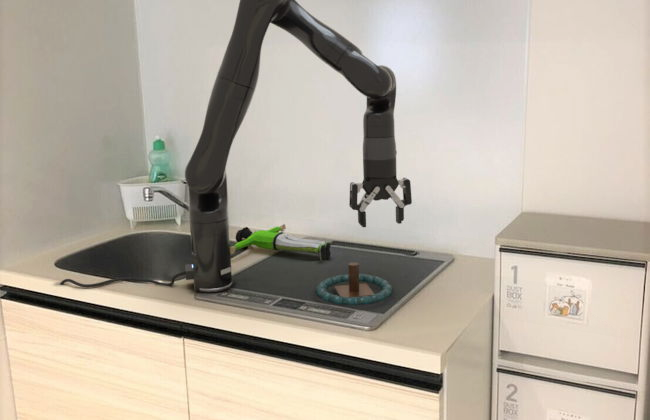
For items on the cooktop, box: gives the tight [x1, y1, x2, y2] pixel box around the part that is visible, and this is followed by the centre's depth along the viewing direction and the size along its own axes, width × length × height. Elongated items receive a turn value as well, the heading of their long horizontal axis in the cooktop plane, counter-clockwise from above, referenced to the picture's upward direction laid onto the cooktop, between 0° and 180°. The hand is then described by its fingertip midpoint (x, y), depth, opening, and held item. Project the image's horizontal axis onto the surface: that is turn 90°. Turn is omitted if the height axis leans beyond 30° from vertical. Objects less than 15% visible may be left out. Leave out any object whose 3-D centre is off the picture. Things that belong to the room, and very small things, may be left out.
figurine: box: [230, 223, 332, 262], centre depth 193 cm, size 28×6×30 cm
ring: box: [315, 273, 394, 306], centre depth 161 cm, size 18×18×2 cm
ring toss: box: [333, 261, 375, 297], centre depth 160 cm, size 8×8×8 cm
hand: (381, 224), depth 159 cm, fingers open, 8 cm apart
